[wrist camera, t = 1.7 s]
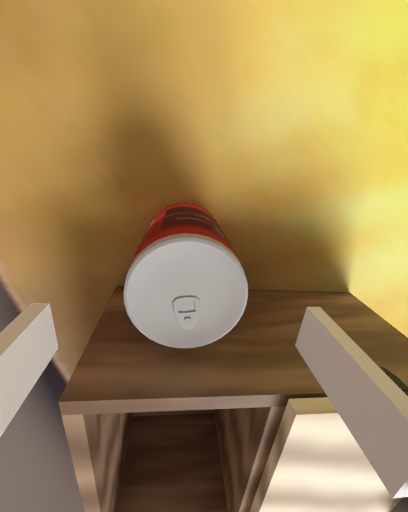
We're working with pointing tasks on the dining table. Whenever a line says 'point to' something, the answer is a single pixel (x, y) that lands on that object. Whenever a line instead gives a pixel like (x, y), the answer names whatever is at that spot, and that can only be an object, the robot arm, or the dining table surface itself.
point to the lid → (319, 466)
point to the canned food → (185, 280)
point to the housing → (199, 403)
